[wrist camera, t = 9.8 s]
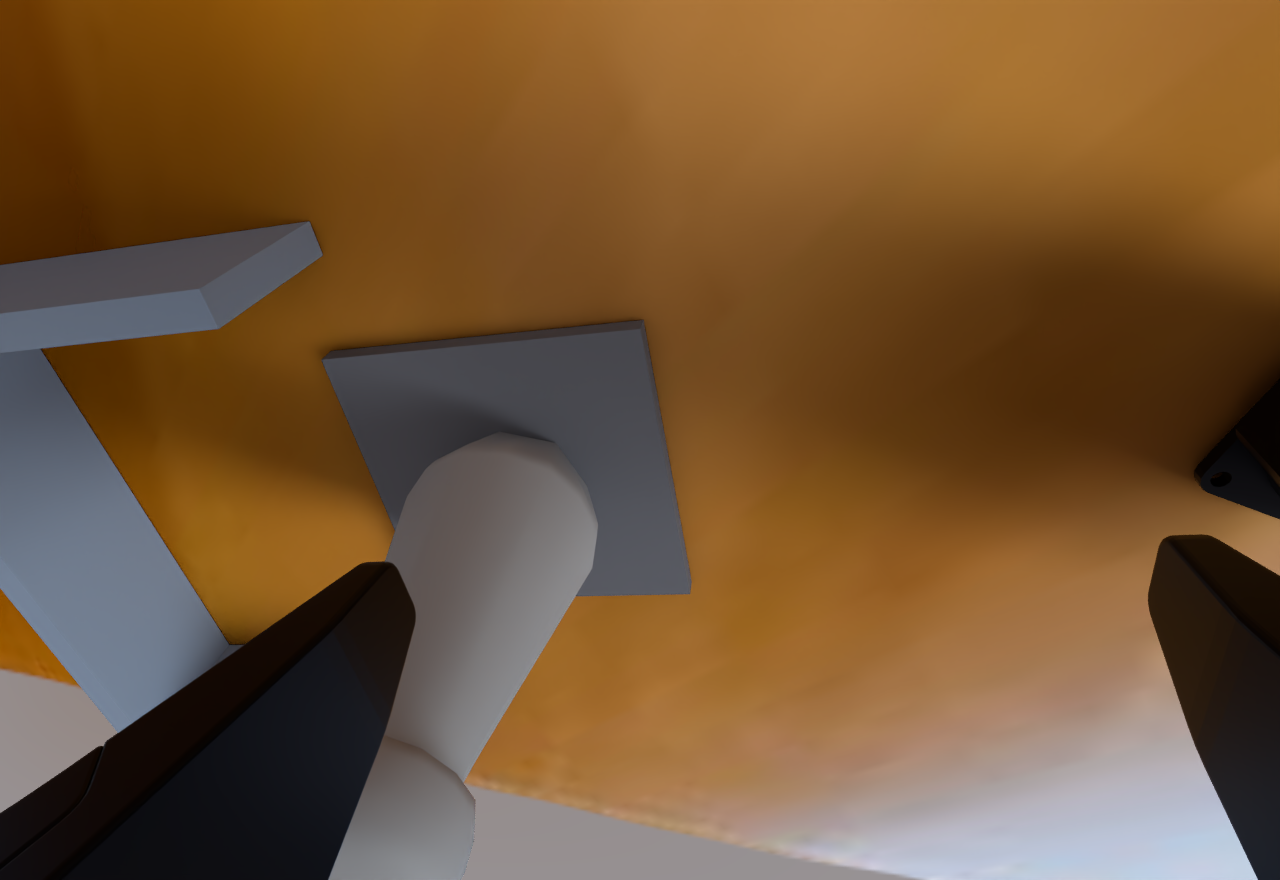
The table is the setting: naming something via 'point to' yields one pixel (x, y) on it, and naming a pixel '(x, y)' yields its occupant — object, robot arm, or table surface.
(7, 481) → the cradle
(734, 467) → the table surface
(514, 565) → the salt shaker
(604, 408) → the coaster
